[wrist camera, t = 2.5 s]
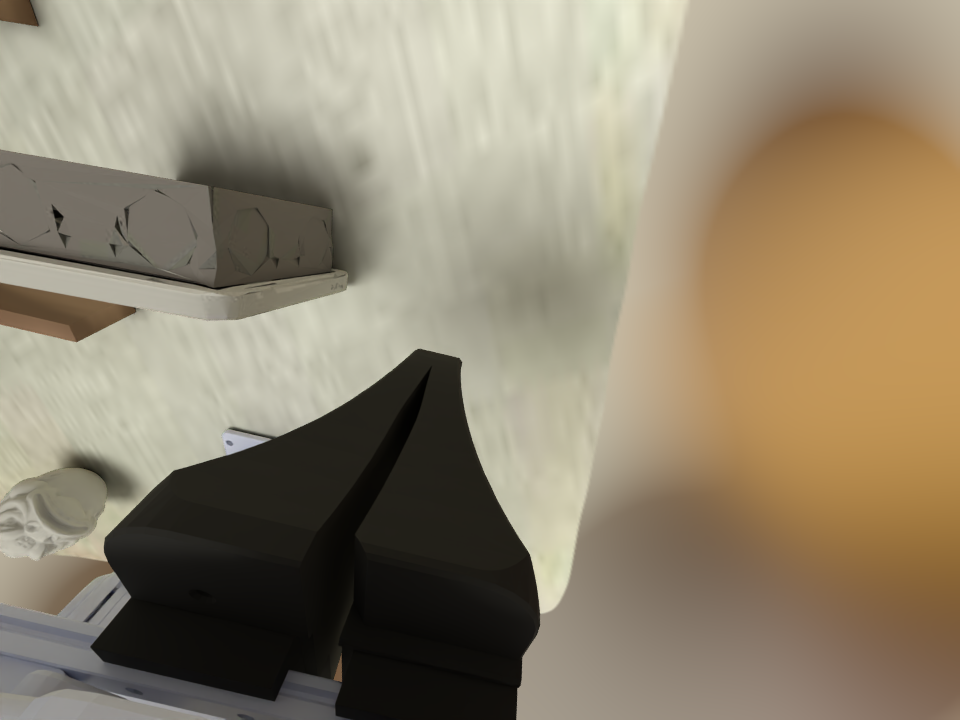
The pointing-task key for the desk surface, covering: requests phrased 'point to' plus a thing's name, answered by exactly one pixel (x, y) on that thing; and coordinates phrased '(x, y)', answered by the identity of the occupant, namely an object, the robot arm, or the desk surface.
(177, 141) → the desk surface
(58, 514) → the grey rounded carved piece
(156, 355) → the desk surface
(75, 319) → the socket dock
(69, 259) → the electrical switch
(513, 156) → the desk surface
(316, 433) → the robot arm
